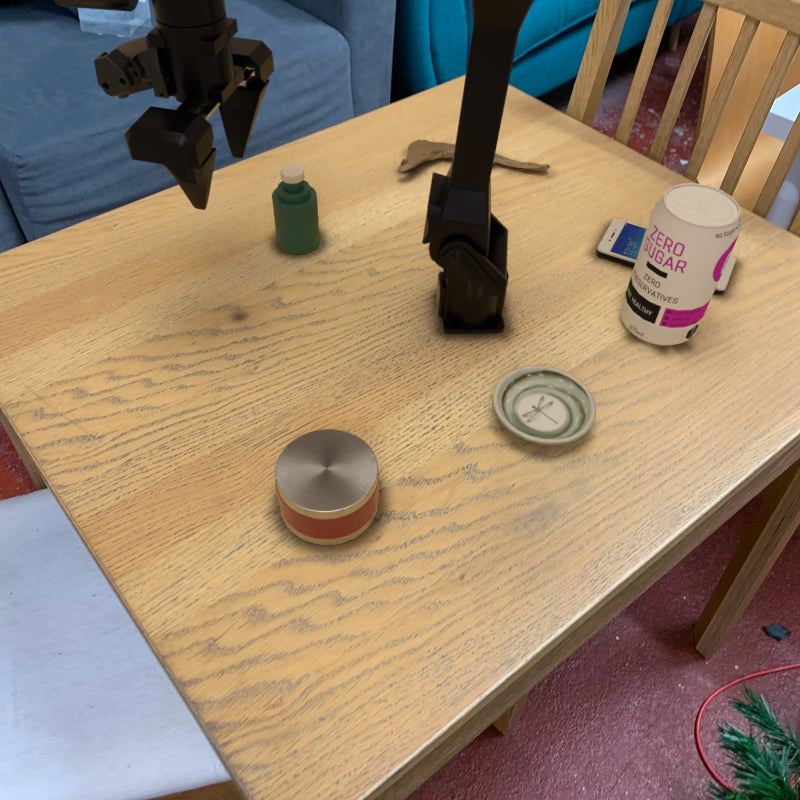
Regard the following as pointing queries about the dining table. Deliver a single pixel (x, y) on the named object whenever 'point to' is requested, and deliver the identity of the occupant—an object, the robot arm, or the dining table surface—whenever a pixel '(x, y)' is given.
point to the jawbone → (434, 150)
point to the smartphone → (626, 244)
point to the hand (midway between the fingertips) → (220, 181)
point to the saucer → (544, 405)
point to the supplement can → (680, 263)
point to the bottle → (295, 212)
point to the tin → (327, 486)
